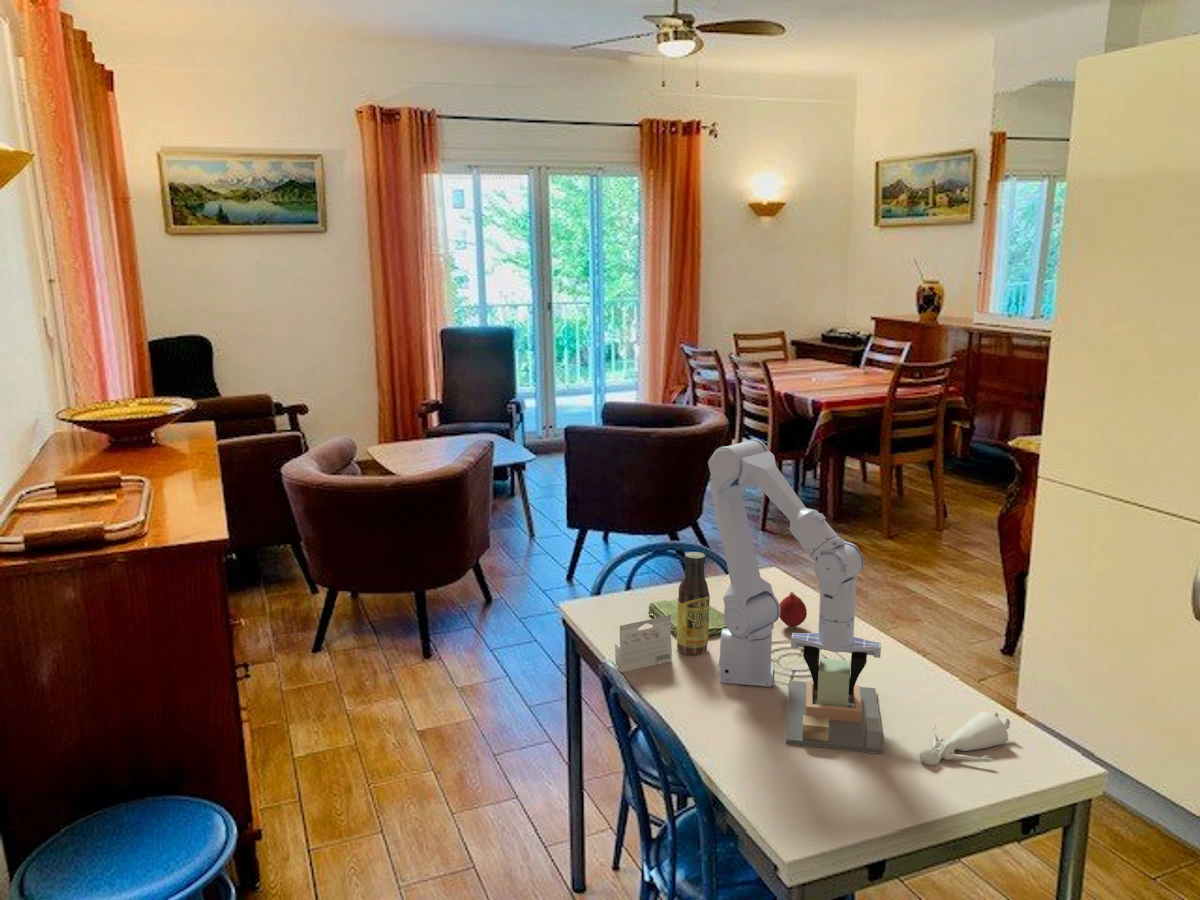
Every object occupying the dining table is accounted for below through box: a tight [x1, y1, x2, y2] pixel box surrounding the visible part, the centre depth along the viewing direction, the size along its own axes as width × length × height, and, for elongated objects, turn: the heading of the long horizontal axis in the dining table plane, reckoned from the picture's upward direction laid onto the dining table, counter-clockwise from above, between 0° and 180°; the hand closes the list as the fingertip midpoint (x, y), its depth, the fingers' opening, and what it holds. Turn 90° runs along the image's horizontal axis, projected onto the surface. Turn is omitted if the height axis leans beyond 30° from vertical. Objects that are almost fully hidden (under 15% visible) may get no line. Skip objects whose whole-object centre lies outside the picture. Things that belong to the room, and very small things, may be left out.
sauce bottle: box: [676, 551, 711, 656], centre depth 172 cm, size 7×6×20 cm
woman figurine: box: [919, 711, 1011, 766], centre depth 137 cm, size 12×4×18 cm
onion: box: [779, 590, 808, 629], centre depth 182 cm, size 6×6×8 cm
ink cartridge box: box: [614, 615, 673, 673], centre depth 167 cm, size 2×11×10 cm, turn 113°
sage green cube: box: [817, 657, 851, 707], centre depth 149 cm, size 5×5×6 cm
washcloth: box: [648, 597, 727, 637], centre depth 187 cm, size 13×18×3 cm
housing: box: [785, 680, 885, 755], centre depth 147 cm, size 15×20×4 cm
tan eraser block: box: [802, 715, 829, 741], centre depth 140 cm, size 4×3×2 cm
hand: (833, 689), depth 149 cm, fingers closed on sage green cube, 5 cm apart
